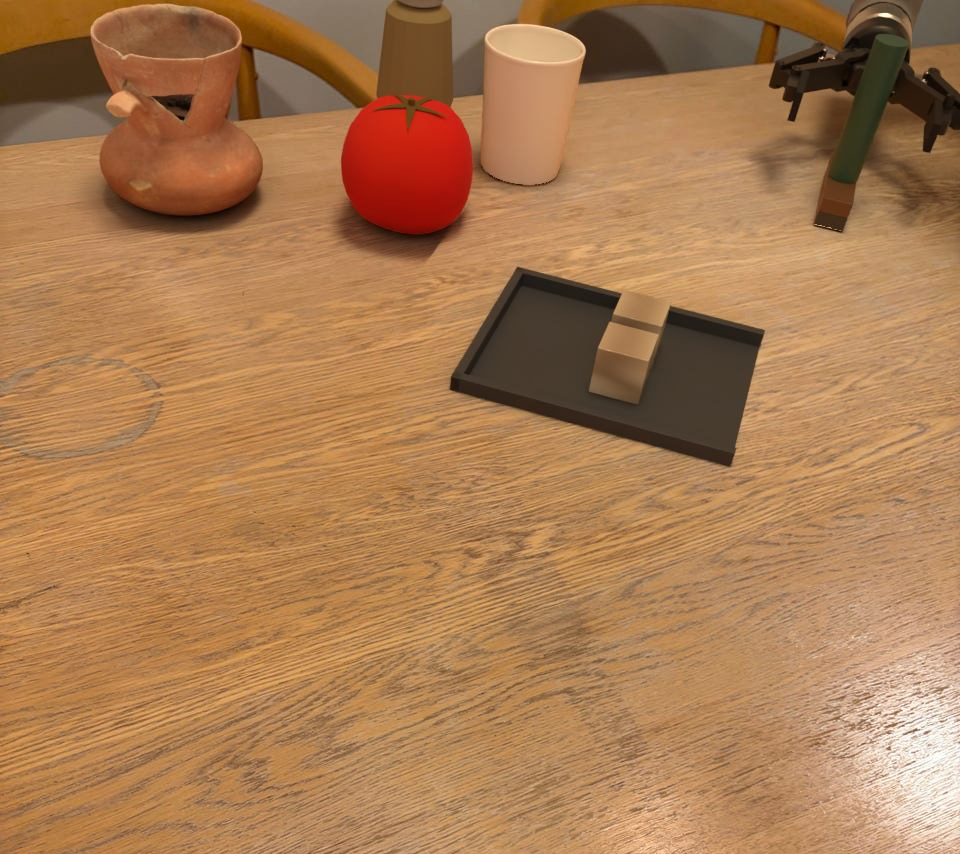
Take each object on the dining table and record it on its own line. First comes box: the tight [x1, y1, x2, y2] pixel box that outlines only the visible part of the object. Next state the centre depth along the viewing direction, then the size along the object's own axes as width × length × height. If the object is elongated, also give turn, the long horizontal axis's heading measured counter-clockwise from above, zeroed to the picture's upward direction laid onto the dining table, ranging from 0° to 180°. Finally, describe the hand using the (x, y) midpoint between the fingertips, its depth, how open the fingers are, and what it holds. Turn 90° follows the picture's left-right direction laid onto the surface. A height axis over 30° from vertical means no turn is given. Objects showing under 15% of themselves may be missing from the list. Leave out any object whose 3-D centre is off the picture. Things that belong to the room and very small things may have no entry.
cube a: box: [611, 289, 672, 369], centre depth 83 cm, size 4×4×4 cm
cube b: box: [589, 322, 659, 405], centre depth 79 cm, size 4×4×4 cm
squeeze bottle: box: [376, 0, 454, 108], centre depth 103 cm, size 8×8×18 cm
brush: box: [813, 34, 909, 231], centre depth 103 cm, size 3×12×16 cm, turn 162°
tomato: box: [340, 91, 474, 235], centre depth 93 cm, size 12×13×11 cm
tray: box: [449, 266, 766, 468], centre depth 83 cm, size 22×18×2 cm
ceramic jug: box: [89, 3, 264, 217], centre depth 91 cm, size 18×14×14 cm
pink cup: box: [480, 23, 587, 186], centre depth 103 cm, size 10×10×12 cm
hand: (863, 122), depth 101 cm, fingers open, 13 cm apart
